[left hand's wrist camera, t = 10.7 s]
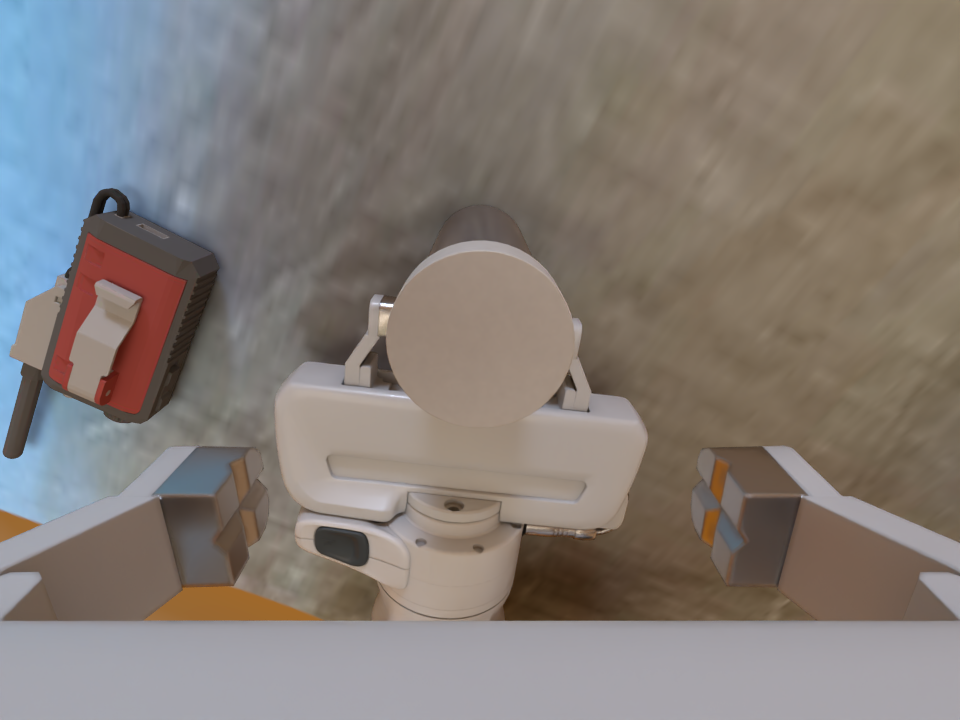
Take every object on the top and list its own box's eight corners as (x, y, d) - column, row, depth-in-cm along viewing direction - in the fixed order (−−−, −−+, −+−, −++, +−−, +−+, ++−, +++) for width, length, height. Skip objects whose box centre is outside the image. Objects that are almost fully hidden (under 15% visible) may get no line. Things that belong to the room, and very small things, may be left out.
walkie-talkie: (84, 164, 30) (10, 439, 37) (22, 167, 26) (-49, 476, 33) (234, 241, 32) (138, 492, 38) (198, 255, 28) (97, 533, 34)
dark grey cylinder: (477, 310, 34) (475, 441, 19) (417, 247, 32) (364, 334, 17) (542, 253, 32) (595, 345, 17) (483, 185, 31) (486, 222, 16)
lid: (474, 433, 20) (474, 460, 19) (358, 320, 19) (346, 338, 17) (601, 332, 19) (612, 351, 17) (486, 201, 17) (487, 207, 15)
